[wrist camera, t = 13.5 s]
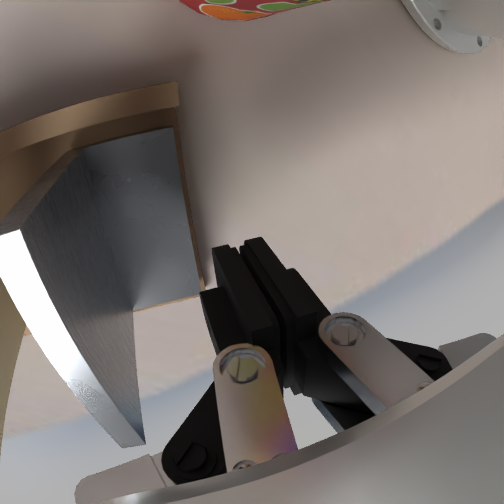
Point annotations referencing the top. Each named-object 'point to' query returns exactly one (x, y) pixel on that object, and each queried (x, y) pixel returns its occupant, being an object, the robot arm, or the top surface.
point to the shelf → (86, 141)
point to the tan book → (8, 347)
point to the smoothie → (244, 7)
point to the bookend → (100, 264)
